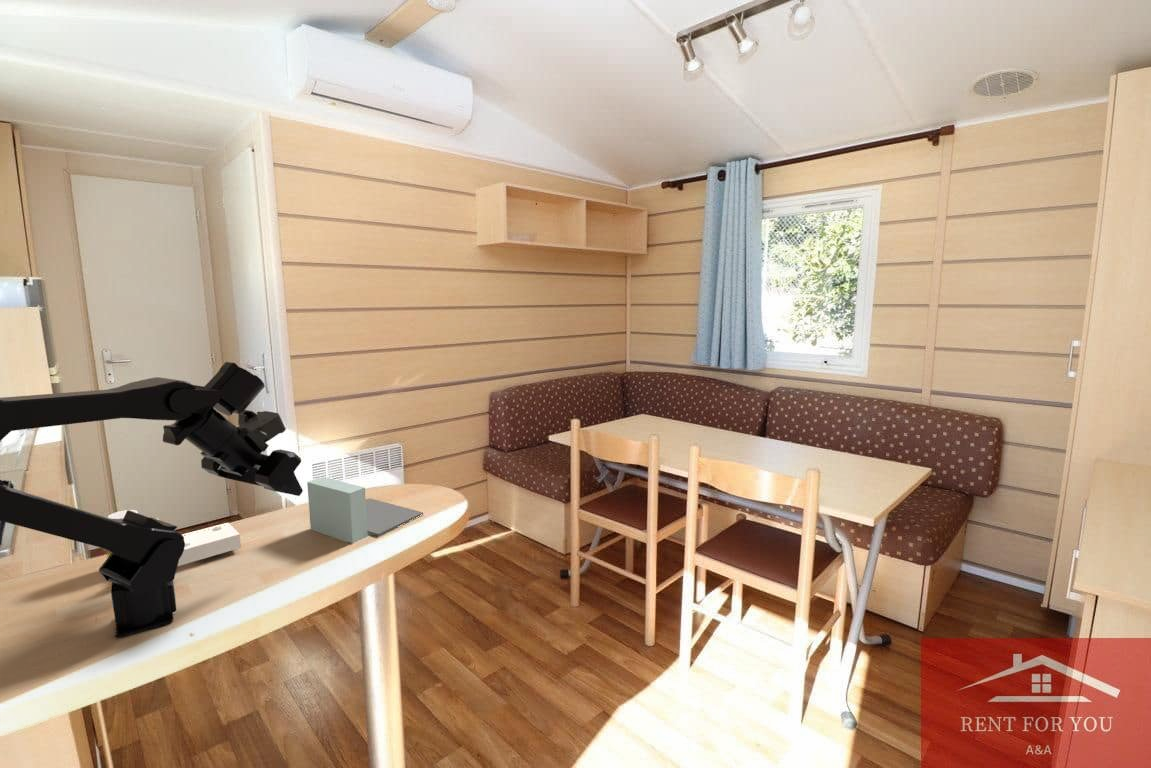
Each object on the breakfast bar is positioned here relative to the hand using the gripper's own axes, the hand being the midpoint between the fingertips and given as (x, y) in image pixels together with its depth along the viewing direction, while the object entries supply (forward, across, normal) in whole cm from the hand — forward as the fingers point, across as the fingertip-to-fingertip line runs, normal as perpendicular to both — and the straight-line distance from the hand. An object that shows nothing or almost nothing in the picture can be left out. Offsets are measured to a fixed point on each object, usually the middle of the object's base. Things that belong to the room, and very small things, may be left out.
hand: (283, 488), depth 98 cm
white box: (+4, +13, +15) cm, 20 cm away
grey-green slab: (+16, -1, 0) cm, 16 cm away
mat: (+22, -1, -6) cm, 23 cm away
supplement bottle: (-1, +19, +20) cm, 28 cm away
